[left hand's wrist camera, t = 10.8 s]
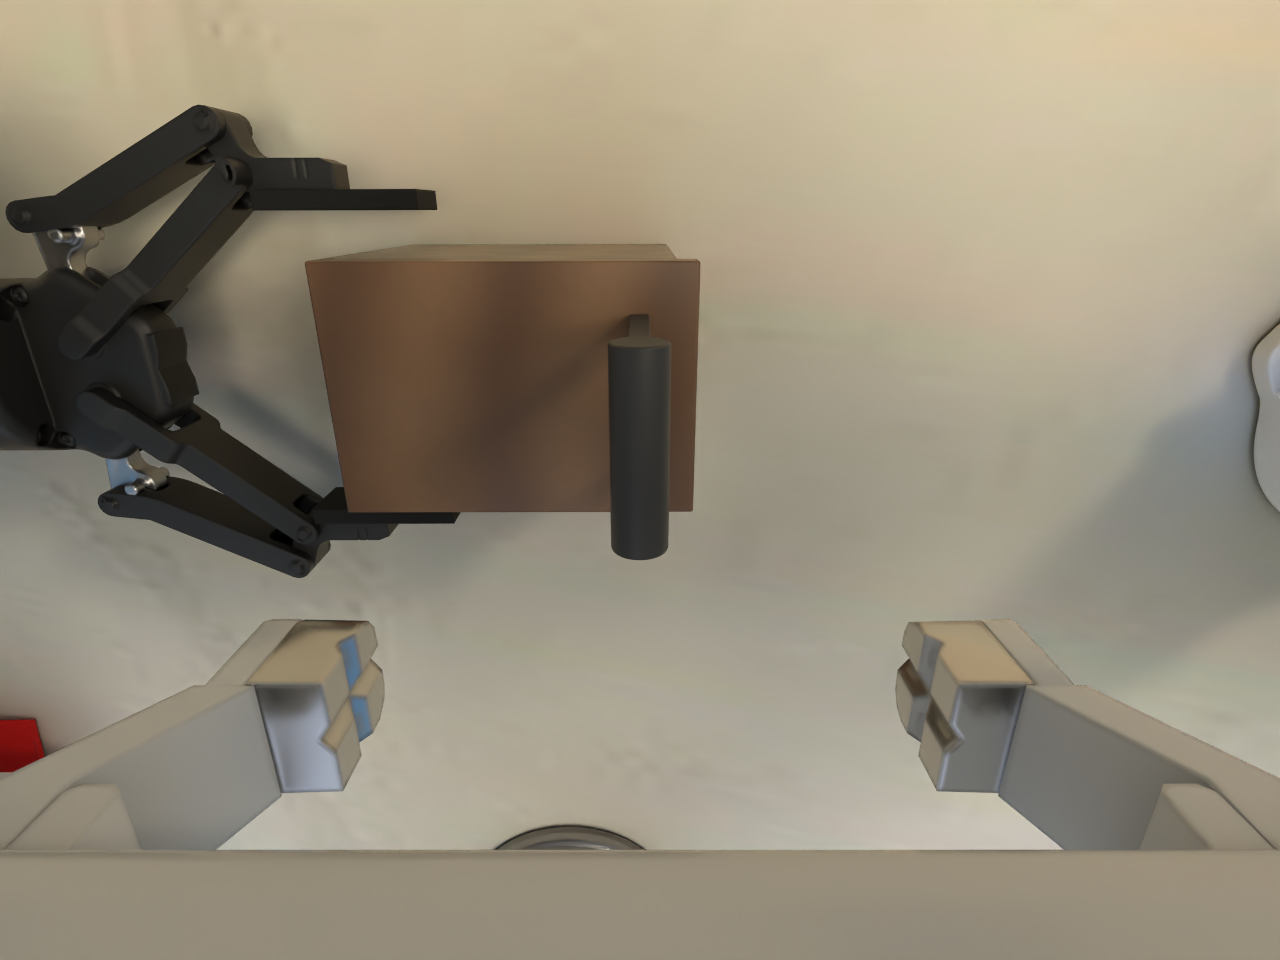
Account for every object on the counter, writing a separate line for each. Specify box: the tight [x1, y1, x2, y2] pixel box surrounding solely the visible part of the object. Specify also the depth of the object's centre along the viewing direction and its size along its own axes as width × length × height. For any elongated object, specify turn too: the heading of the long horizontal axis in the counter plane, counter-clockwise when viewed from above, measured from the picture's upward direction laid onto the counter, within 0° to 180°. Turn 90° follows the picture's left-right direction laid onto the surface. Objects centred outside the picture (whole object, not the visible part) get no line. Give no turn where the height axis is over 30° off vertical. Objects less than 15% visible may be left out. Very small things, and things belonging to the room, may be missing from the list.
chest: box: [319, 244, 677, 260], centre depth 32 cm, size 13×10×11 cm
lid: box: [305, 259, 700, 560], centre depth 23 cm, size 14×10×8 cm
